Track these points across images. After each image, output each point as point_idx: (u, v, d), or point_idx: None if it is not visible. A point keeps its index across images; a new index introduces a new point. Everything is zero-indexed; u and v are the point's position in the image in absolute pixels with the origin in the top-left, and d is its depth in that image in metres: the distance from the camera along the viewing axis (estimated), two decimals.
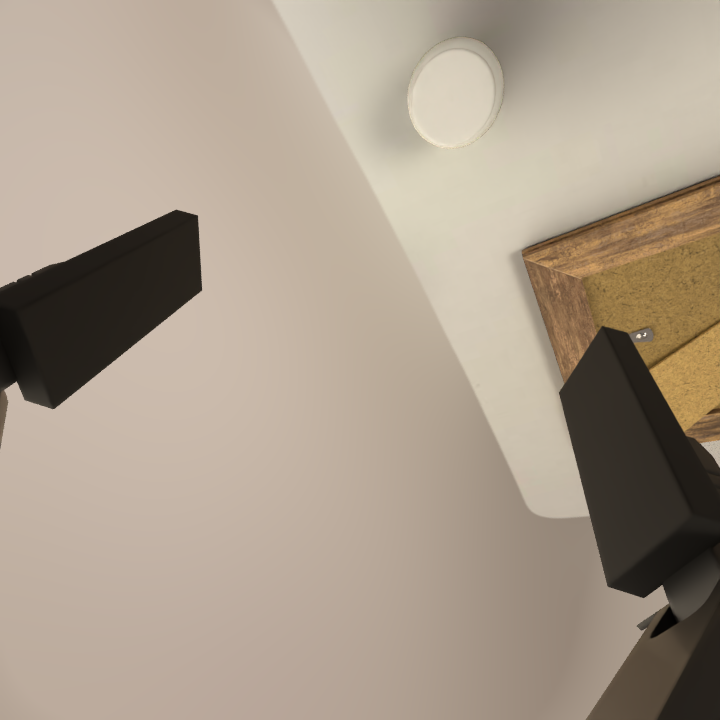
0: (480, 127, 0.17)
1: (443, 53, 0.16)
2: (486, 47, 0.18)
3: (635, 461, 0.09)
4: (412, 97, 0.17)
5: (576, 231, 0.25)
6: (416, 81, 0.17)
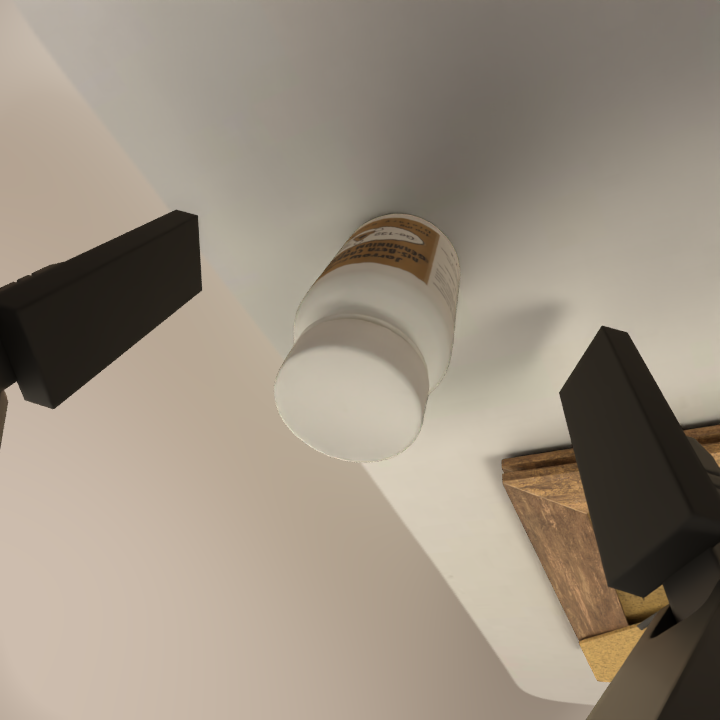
0: (400, 450, 0.09)
1: (318, 350, 0.08)
2: (414, 293, 0.10)
3: (635, 461, 0.09)
4: (275, 397, 0.09)
5: None
6: (277, 379, 0.09)
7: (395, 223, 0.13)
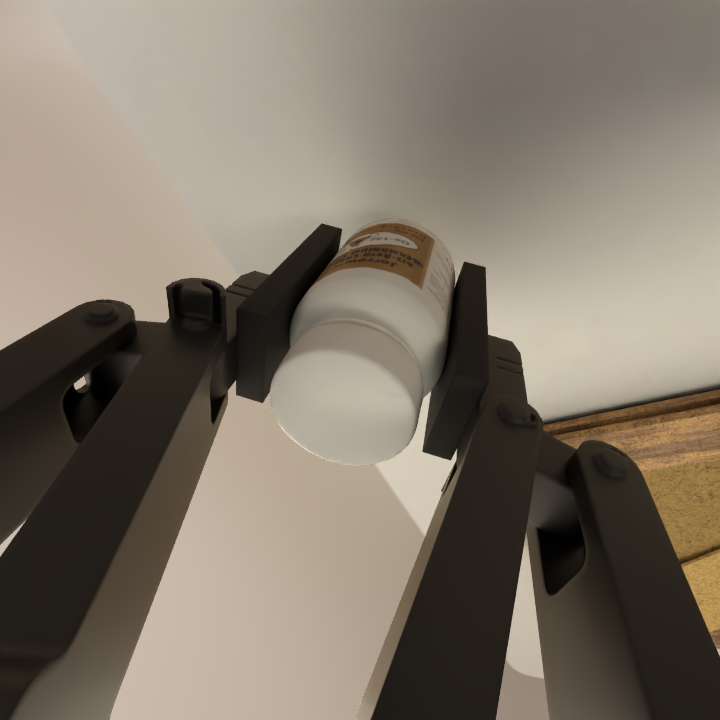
0: (395, 453, 0.10)
1: (313, 353, 0.08)
2: (409, 298, 0.10)
3: (449, 353, 0.11)
4: (271, 400, 0.10)
5: (557, 425, 0.19)
6: (273, 382, 0.09)
7: (391, 228, 0.13)
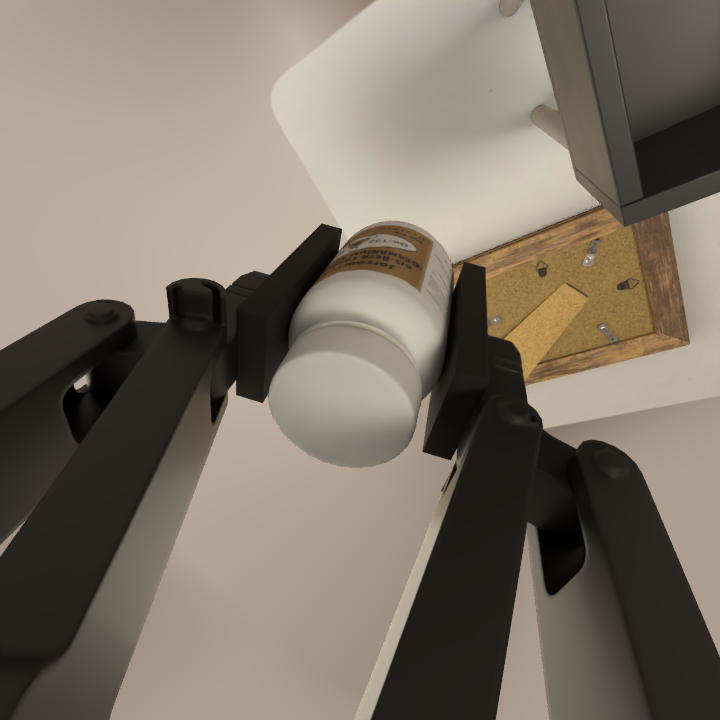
0: (393, 455, 0.10)
1: (311, 356, 0.08)
2: (407, 300, 0.10)
3: (449, 353, 0.11)
4: (270, 403, 0.10)
5: (455, 264, 0.48)
6: (272, 385, 0.09)
7: (389, 230, 0.13)
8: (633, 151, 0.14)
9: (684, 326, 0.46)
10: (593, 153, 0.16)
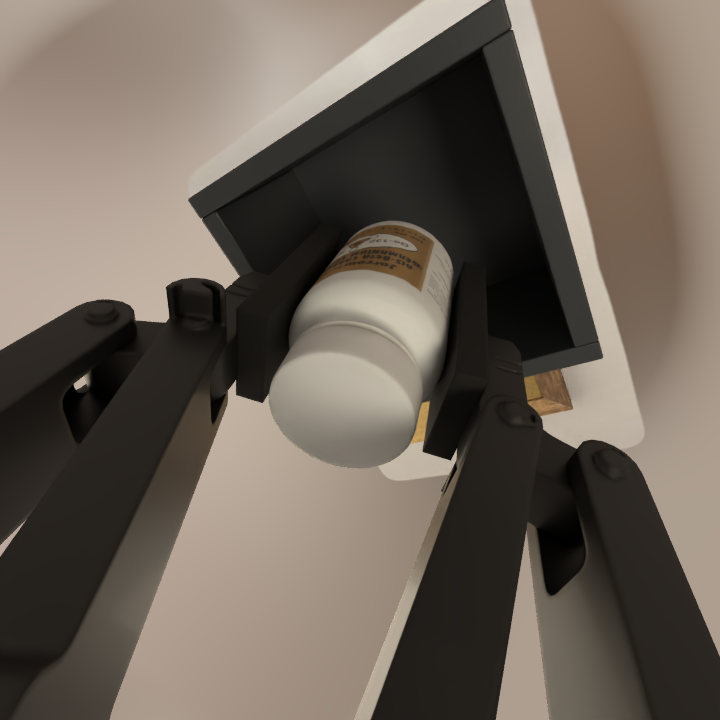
0: (394, 456, 0.10)
1: (312, 356, 0.08)
2: (407, 300, 0.10)
3: (450, 353, 0.11)
4: (270, 403, 0.10)
5: None
6: (272, 385, 0.09)
7: (390, 230, 0.13)
8: None
9: (566, 394, 0.50)
10: None
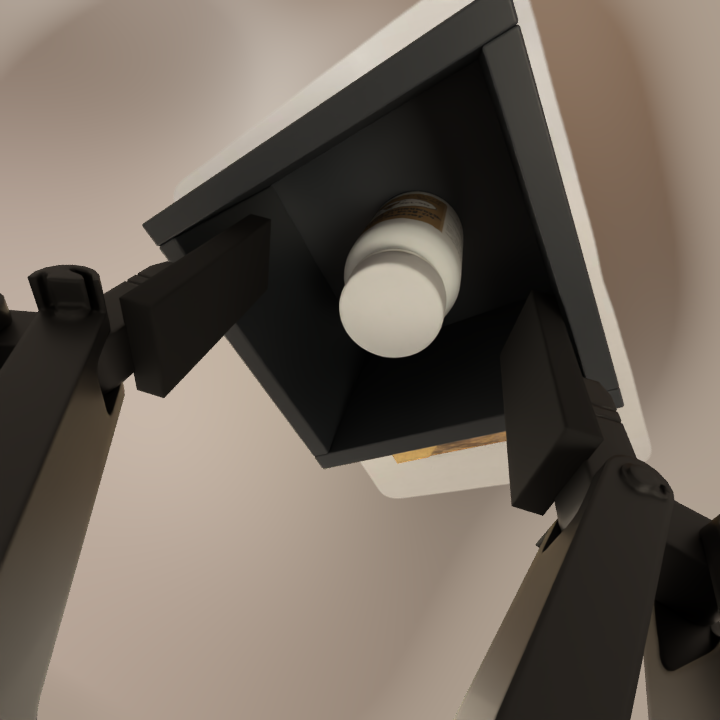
0: (428, 343, 0.14)
1: (372, 267, 0.13)
2: (433, 236, 0.14)
3: (538, 398, 0.10)
4: (340, 308, 0.14)
5: None
6: (342, 293, 0.13)
7: (414, 196, 0.17)
8: (307, 424, 0.17)
9: None
10: None
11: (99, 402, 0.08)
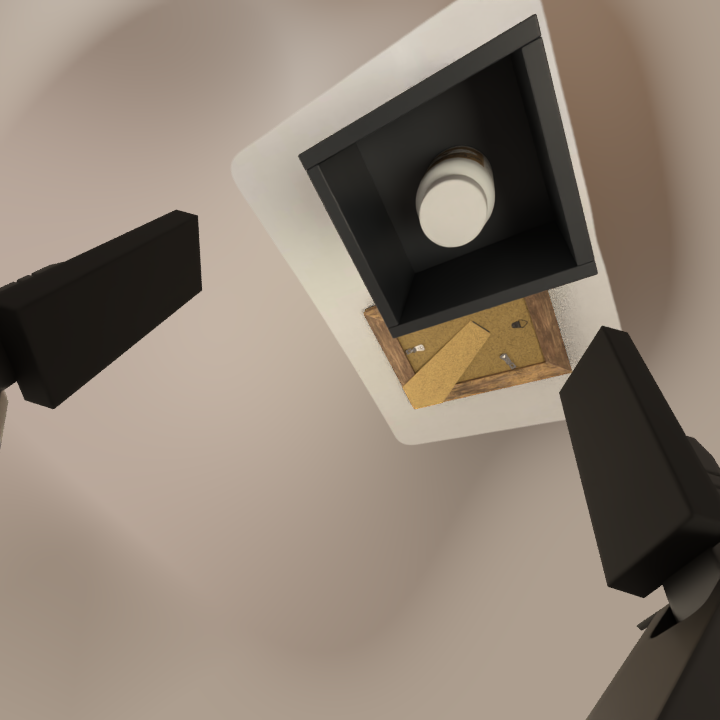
0: (475, 235, 0.21)
1: (444, 182, 0.20)
2: (479, 168, 0.22)
3: (635, 462, 0.09)
4: (420, 212, 0.21)
5: None
6: (423, 201, 0.21)
7: (461, 148, 0.25)
8: (386, 301, 0.25)
9: (566, 358, 0.56)
10: None
11: None
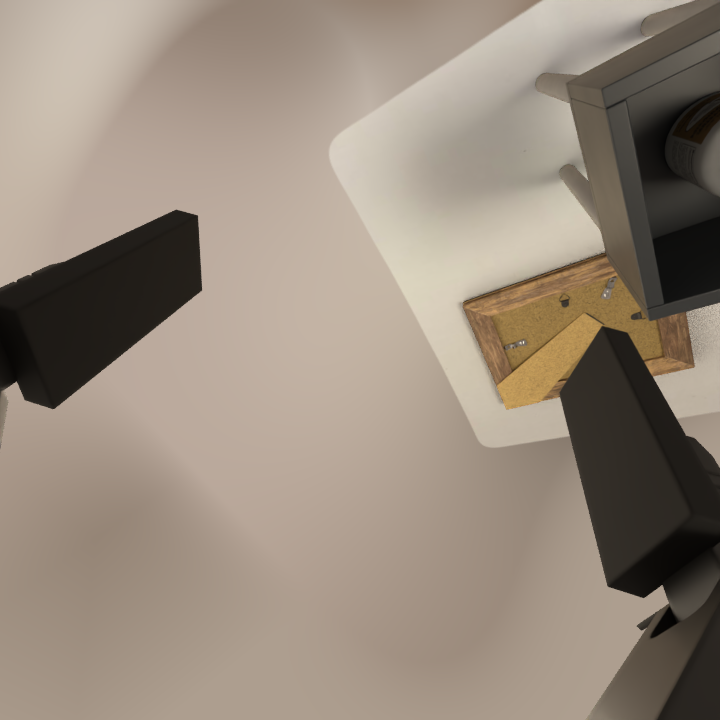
0: None
1: None
2: None
3: (635, 461, 0.09)
4: None
5: (486, 294, 0.55)
6: None
7: None
8: (658, 275, 0.20)
9: (689, 352, 0.52)
10: (627, 264, 0.23)
11: None
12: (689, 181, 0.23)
